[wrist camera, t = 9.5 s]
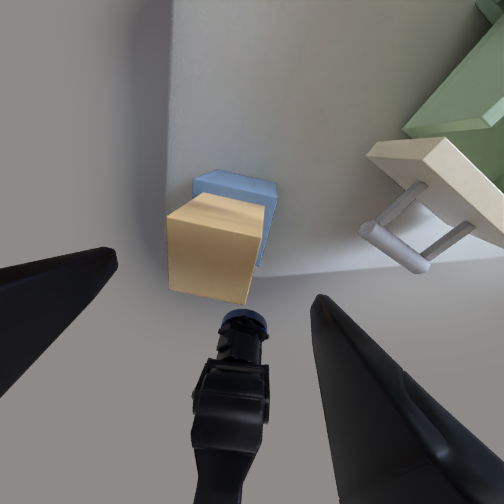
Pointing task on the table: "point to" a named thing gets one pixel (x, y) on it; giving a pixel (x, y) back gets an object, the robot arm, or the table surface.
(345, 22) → the table surface
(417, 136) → the drawer
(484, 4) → the cabinet
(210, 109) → the table surface
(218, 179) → the block
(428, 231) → the table surface
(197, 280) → the block
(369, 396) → the robot arm
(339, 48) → the table surface
